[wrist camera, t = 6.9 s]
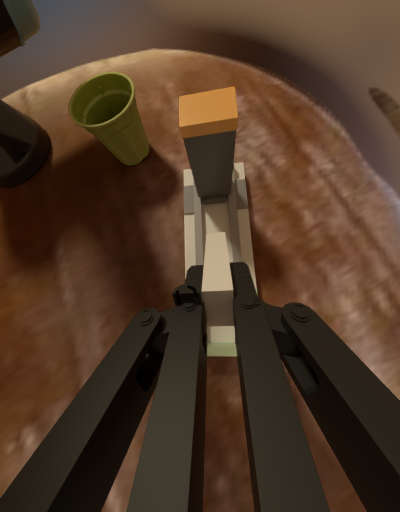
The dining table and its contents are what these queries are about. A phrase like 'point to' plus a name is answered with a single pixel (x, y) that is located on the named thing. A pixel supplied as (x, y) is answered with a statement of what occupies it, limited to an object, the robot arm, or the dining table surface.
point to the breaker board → (237, 238)
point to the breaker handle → (210, 140)
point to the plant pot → (111, 115)
